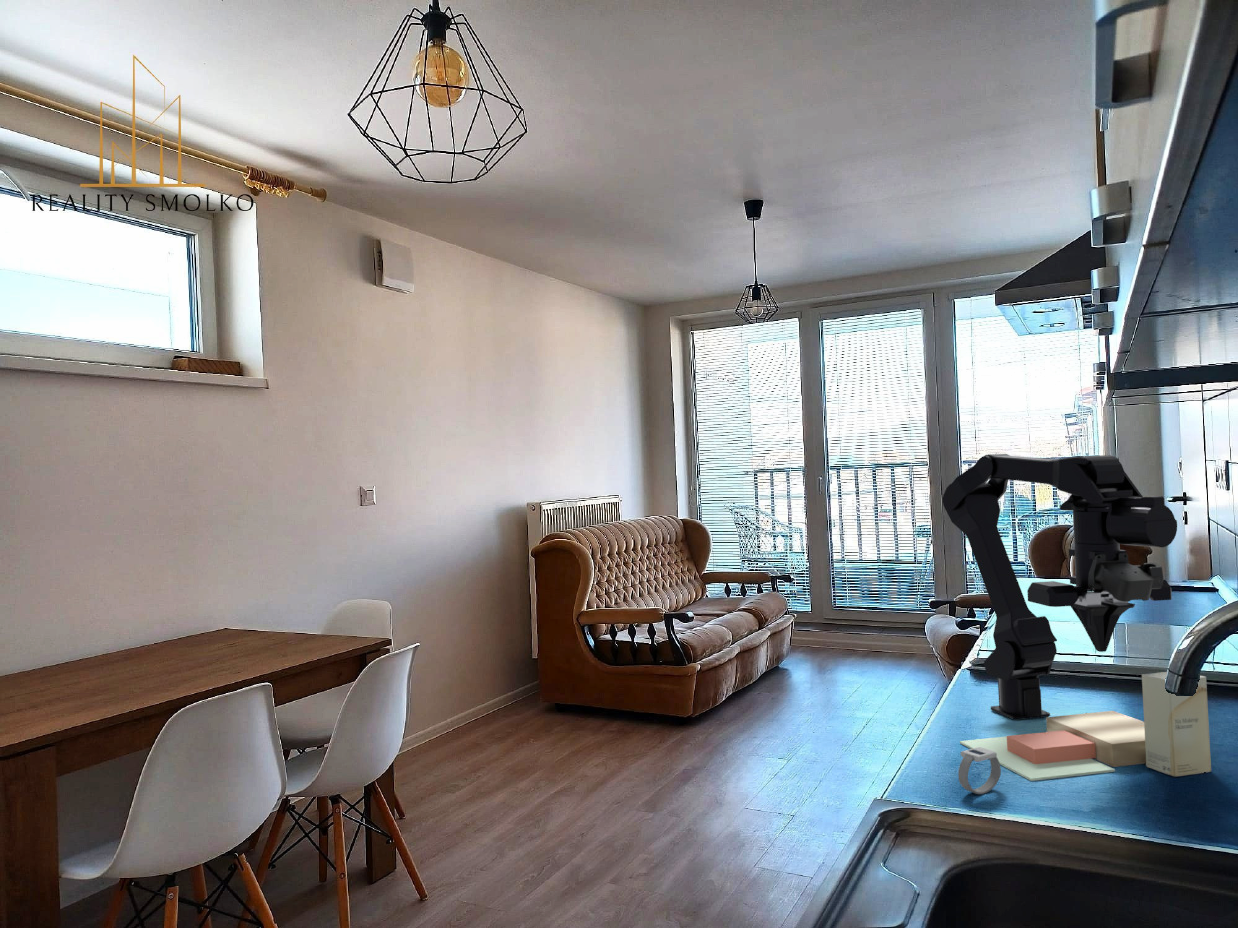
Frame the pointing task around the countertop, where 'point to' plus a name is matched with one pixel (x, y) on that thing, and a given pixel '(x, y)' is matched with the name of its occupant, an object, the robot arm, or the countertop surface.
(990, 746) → the mat
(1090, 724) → the board
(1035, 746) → the salmon pink brick
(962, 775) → the wristwatch
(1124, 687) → the countertop surface
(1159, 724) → the skincare box
